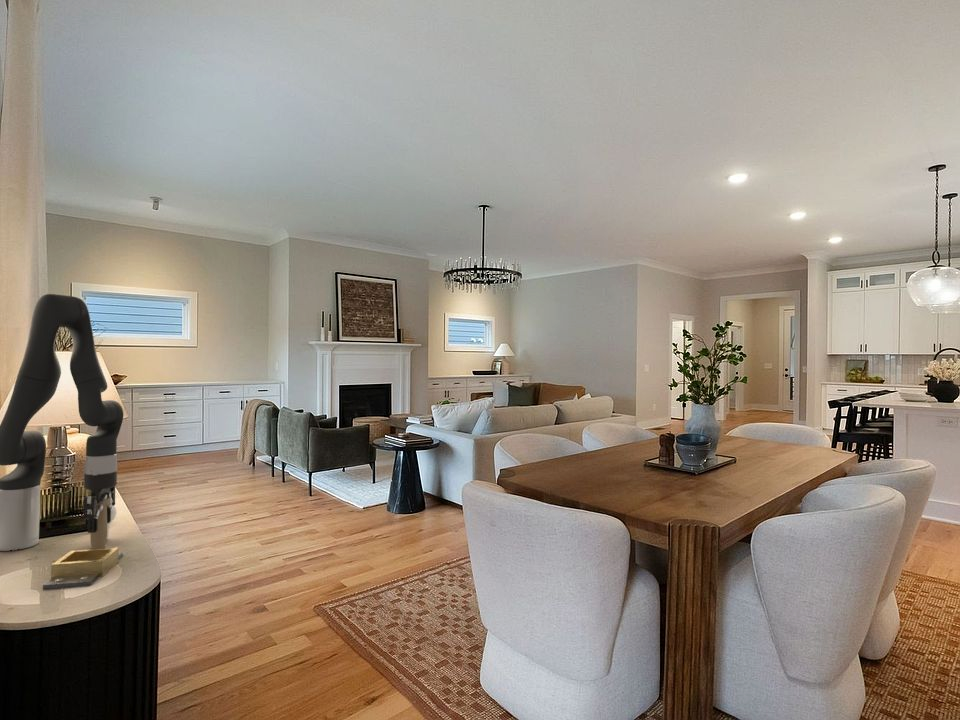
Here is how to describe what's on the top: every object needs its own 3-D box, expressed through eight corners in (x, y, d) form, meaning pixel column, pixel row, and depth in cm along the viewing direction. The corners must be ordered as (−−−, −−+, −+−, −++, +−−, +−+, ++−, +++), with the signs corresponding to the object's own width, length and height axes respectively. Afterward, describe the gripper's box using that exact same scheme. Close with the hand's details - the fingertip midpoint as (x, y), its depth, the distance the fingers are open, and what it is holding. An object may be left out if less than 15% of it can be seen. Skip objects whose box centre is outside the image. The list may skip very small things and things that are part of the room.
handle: (87, 556, 142) (89, 502, 142) (88, 549, 147) (89, 497, 147) (108, 553, 144) (110, 500, 145) (108, 546, 150) (110, 495, 150)
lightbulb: (119, 539, 156) (120, 502, 157) (95, 544, 151) (96, 507, 151) (110, 534, 160) (111, 499, 160) (86, 540, 154) (87, 504, 155)
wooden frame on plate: (39, 589, 121) (40, 572, 121) (79, 558, 140) (80, 544, 140) (93, 585, 124) (93, 568, 124) (125, 555, 143) (125, 541, 143)
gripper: (96, 466, 152) (95, 521, 152) (73, 476, 138) (71, 536, 138) (125, 465, 154) (124, 519, 154) (105, 475, 140) (103, 534, 140)
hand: (99, 527), depth 146 cm, fingers open, 8 cm apart
